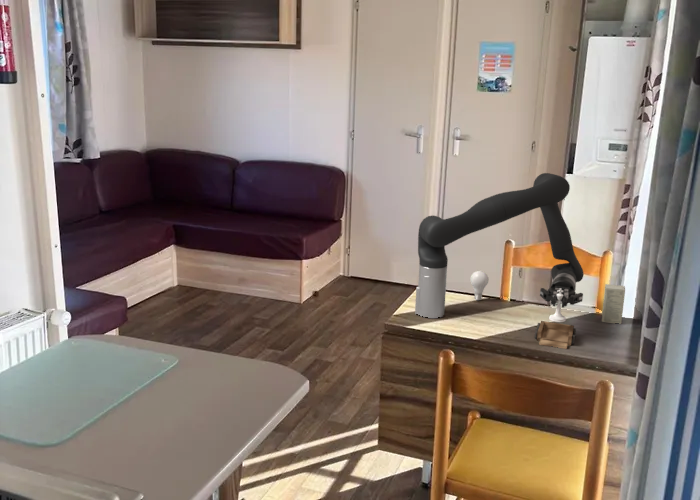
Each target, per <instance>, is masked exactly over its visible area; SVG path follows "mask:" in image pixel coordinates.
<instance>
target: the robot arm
mask: <svg viewBox="0 0 700 500" xmlns="http://www.w3.org/2000/svg"><path fill="white" fill-rule="evenodd" d="M570 190H571V186H570V182H569V181H568V180H567V179H566V178H564V177H563V176H562V175H558V174H555V173H554V174H553V173H551V172H544V173H543V172H542V173H541V174H539V175H538V176H537V177H535V179H534V181H533V186H530V187H528V188H525V189H518V190H511V191H505V192H501V193H497V194H494V195H491V196H489V197H486V198H483V199H481V200H479V201H477V202H476V203H475V204H473V205H472V206H471V207H469V209H467V210H466V211H464V212H462V213H461V214H457V215H455V216H452V217H447V218H444V219H443V218H442V217H439V216H438V215H428V216H426V217H424V218H423V219H422V220H421V222H420V224H419V228H418V236H417V240H418V241H417V254H418V259H419V261H418V262H419V265H418V281H417V283H418V284H417V286H416V289H415V291H416V292H415V307H414V314H415V315H416V314H418V315H417V316H419V315H420V316H419V317H422V316H423V317H422V318H425V317H428V318H427V319H439V318H438V317H440V318H443V317H444V316H445V310H446V309H445V308H446V306H445V305H446V292H447V275H448V260H449V259H448V255H447V253H446V249H445V248H446V247H445V246H448V245H450V244H452V243H453V242H456V241H457V240H460V239H462V238H464V237H466V236H468V235H471V234H474V233H476V232H479V231H482V230H484V229H487V228H490V227H492V226H496V225H498V224H500V223H504V222H505V221H509V220H510V219H513V218H515V217H518V216H520V215H523V214H525V213H528V212H530V211H533V210H536V209H538V208H540V211H541V213H542V217H543V220H544V223H545V227H546V230H547V234H548V238H549V245H550V248H551V253H552V256H553V257H552V258H554V259H555V260H560V261H565V263H559V264H555V265H553V266H552V268H551V271H550V273H551V279H552V282H551V284H550V288H548V289H545V288H544V287H540V291H539V297H540V298H542V299H543V300H544V301H546V302H550V305H551V306H552V307H556V306H557V303H556V301H557V300H558V299H557V294H559V292H557V290H560V288H561V290H563V292H561V294H563V297H562V300H561V301H562V304H561V309H562V308H563V309H564V308H565V307H567V306H568V305H571V306H573V305H574V306H575V305H576V304H579V303H581V302H583V299H584V293H582V292H579V293H578V292H577V293H576V287H577V283H580V282H581V281H582V280H583V278H584V269H583V267H582V265H581V263H580V261H579V260H578V258H577V256H576V253H575V251H574V250H575V249H574V247H573V246H574V245H573V240H572V236H571V232H570V230H569V228H568V225H567V223H566V221H565V220H564V217H563V215H562V213H561V210H560V205H559V203H560V202H561V201H563V200H565V199H566V198H567V196H568V195H569V193H570ZM443 315H444V316H443Z"/></svg>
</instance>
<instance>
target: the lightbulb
mask: <svg viewBox="0 0 700 500" xmlns="http://www.w3.org/2000/svg"><path fill="white" fill-rule="evenodd" d="M469 281H470V283H471V286H472V288H473V291H474V297H473V299H474V300H476V301H478V302H479V301H481V300H482V299H483V292H484V290H485V288H486V286H487V285H488V284H489V276H488V274H487V273H486V272H485V271H483V270H476V271H474V272H472V273H471V276H470V279H469Z"/></svg>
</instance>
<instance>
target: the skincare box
mask: <svg viewBox="0 0 700 500" xmlns="http://www.w3.org/2000/svg"><path fill="white" fill-rule="evenodd" d="M625 294H626V287H625V285H619V284H617V285H616V284H610V283H609V284H608V283H605V285H604V295H603V305H602V312H601V314H602V315H601V322H602V323H609V324H615V323H619V324H618V325H622V320H623V311H624V306H625V305H624V303H625V297H626V296H625Z"/></svg>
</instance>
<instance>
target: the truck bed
mask: <svg viewBox="0 0 700 500" xmlns="http://www.w3.org/2000/svg"><path fill="white" fill-rule="evenodd" d="M536 327H537V328H535V331H534V339H536V341H539V342H538V344H539V346H546V347H551V346H553V347H552V348H557V347H558V349H559V348H560V349H563V350H565V349H566V350H567V348H568V347H571V346H572V345H575V339H576V336H577V335H576V334H577V328H575V325H572V324H567V323H566V324H565V323H561V322H554V321H552V322H551V321H544V320H540V322H537V325H536Z"/></svg>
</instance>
